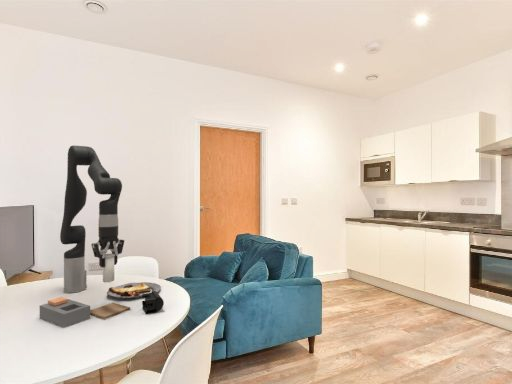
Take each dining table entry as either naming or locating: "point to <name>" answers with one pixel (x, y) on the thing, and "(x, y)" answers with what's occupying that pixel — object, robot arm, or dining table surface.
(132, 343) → the dining table surface
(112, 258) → the cylinder
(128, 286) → the food plate
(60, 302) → the orange cube
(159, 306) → the end cap
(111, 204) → the robot arm
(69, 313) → the grey hollow block
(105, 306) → the walnut board
